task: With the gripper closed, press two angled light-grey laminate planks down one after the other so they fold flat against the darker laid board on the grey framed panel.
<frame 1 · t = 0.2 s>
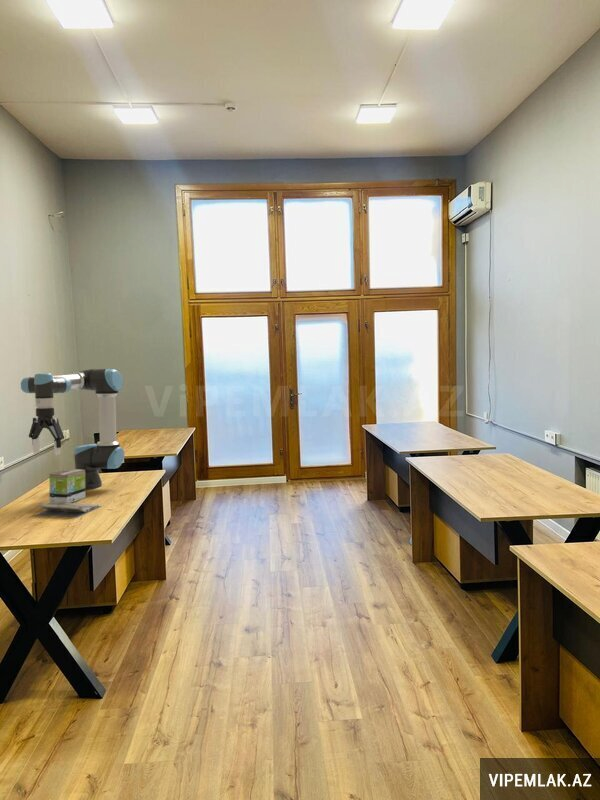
hand: (47, 454, 241), 27 cm above the table, fingers open, 13 cm apart
laid board: (74, 508, 247), resting on grey framed panel
grey framed panel: (69, 511, 244), on the table
tea box: (68, 501, 262), on the table, touching grey framed panel
plank a: (52, 507, 240), point 3 cm above the table, hinge at 28.0°
plank b: (72, 508, 238), point 3 cm above the table, hinge at 28.0°
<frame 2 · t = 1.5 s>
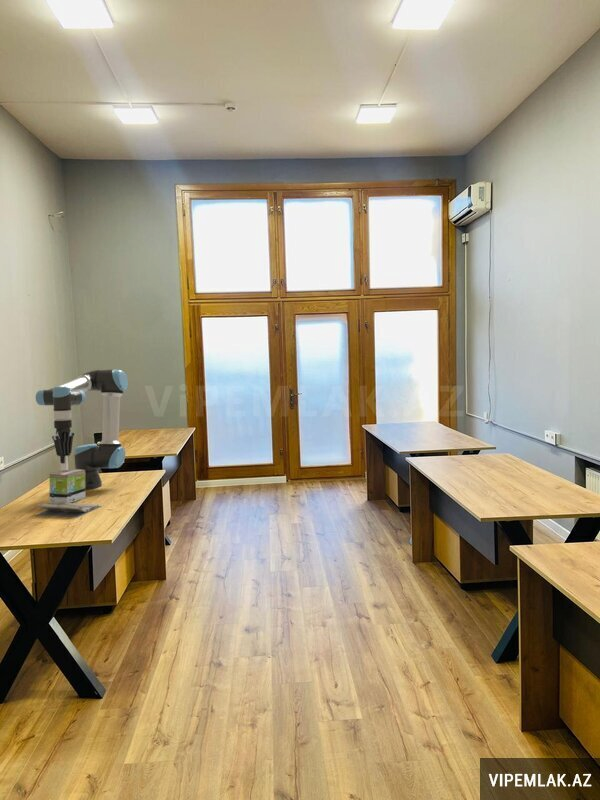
hand: (64, 469, 248), 18 cm above the table, fingers closed
nothing on the table moved.
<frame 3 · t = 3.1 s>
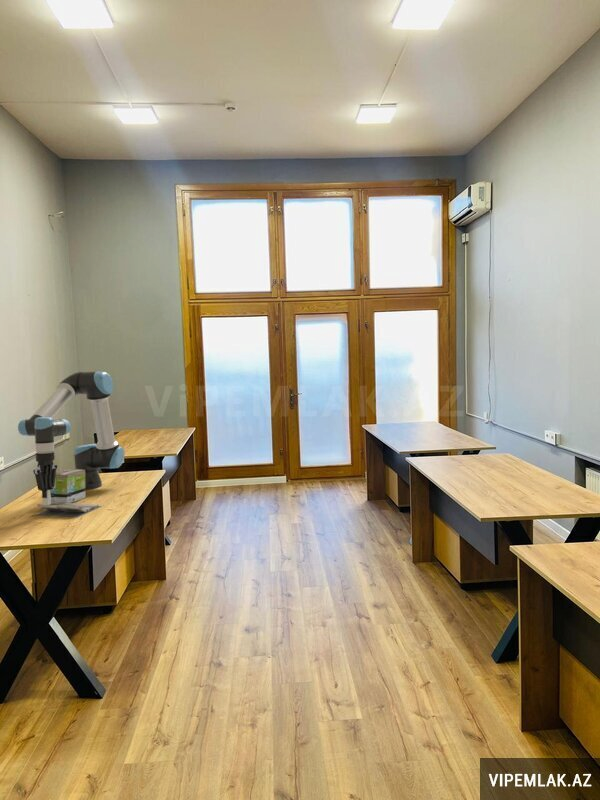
hand: (46, 504, 236), 5 cm above the table, fingers closed
plank a: (52, 507, 240), point 3 cm above the table, hinge at 26.0°, touching gripper
everything else where it was.
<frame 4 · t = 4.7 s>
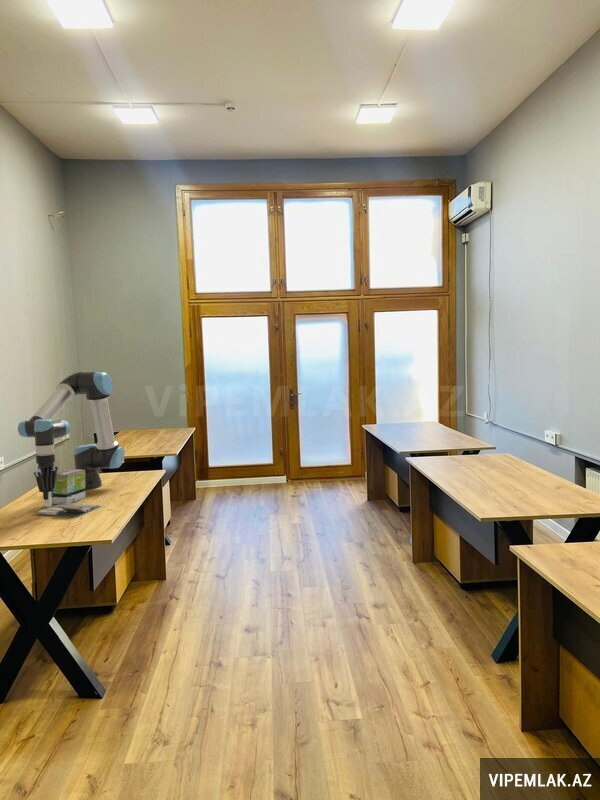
hand: (48, 506, 237), 4 cm above the table, fingers closed
plank a: (52, 511, 240), point 1 cm above the table, hinge at 3.3°
everything else where it was.
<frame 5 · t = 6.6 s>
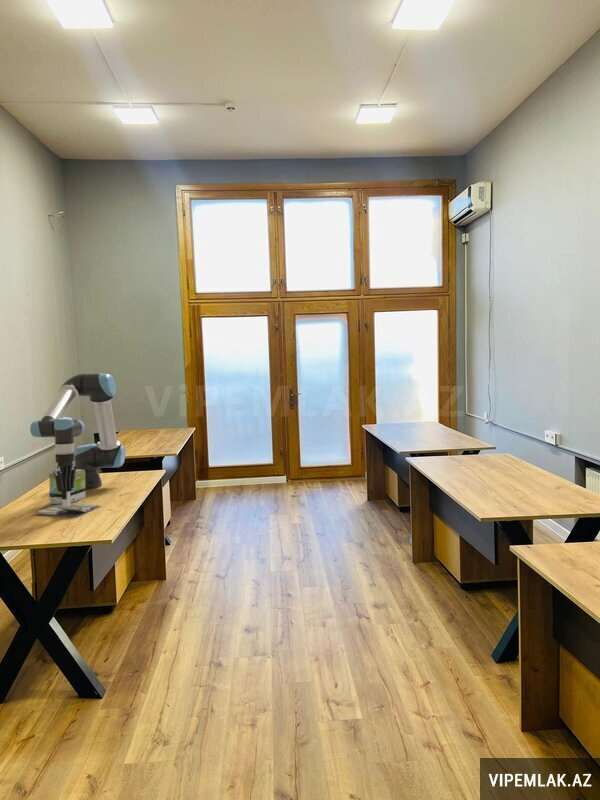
hand: (66, 505, 234), 5 cm above the table, fingers closed
plank b: (72, 508, 238), point 3 cm above the table, hinge at 24.6°, touching gripper
everything else where it was.
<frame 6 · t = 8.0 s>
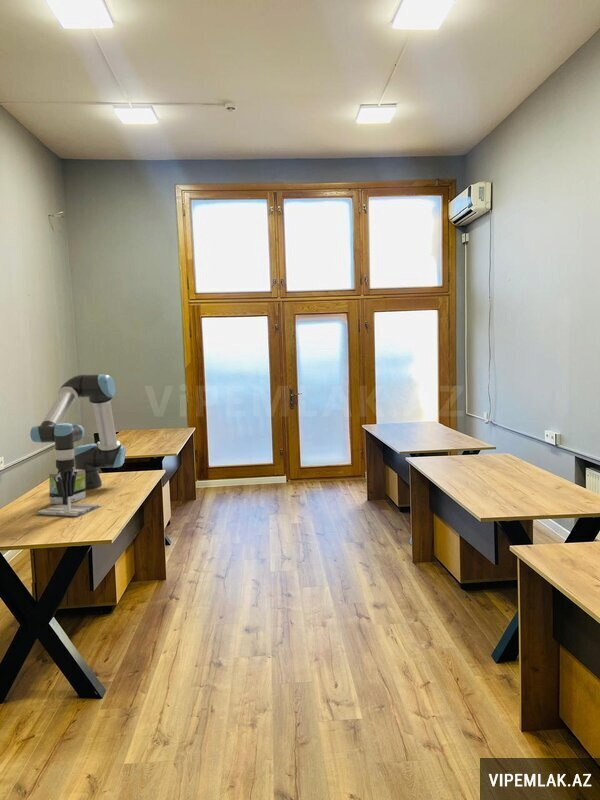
hand: (67, 511, 235), 2 cm above the table, fingers closed
plank b: (72, 512, 238), point 1 cm above the table, hinge at 3.6°
everything else where it was.
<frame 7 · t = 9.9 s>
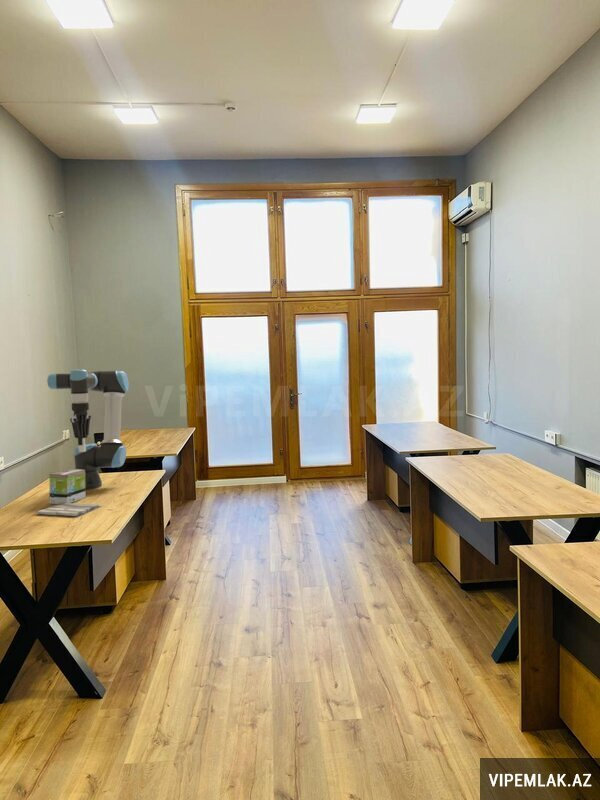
hand: (82, 451, 253), 26 cm above the table, fingers closed
nothing on the table moved.
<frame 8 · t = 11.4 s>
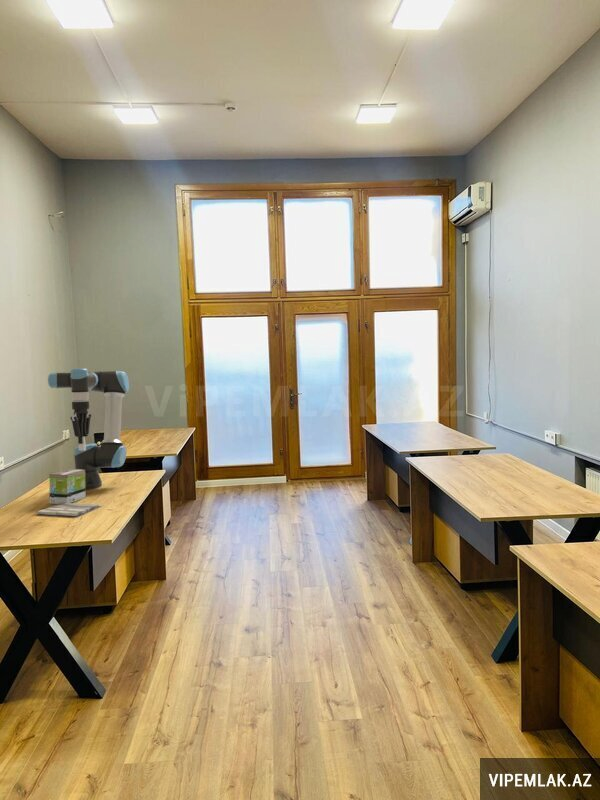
hand: (82, 450, 253), 26 cm above the table, fingers closed
nothing on the table moved.
at the end: plank a at +3° (first picture: +28°); plank b at +4° (first picture: +28°) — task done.
